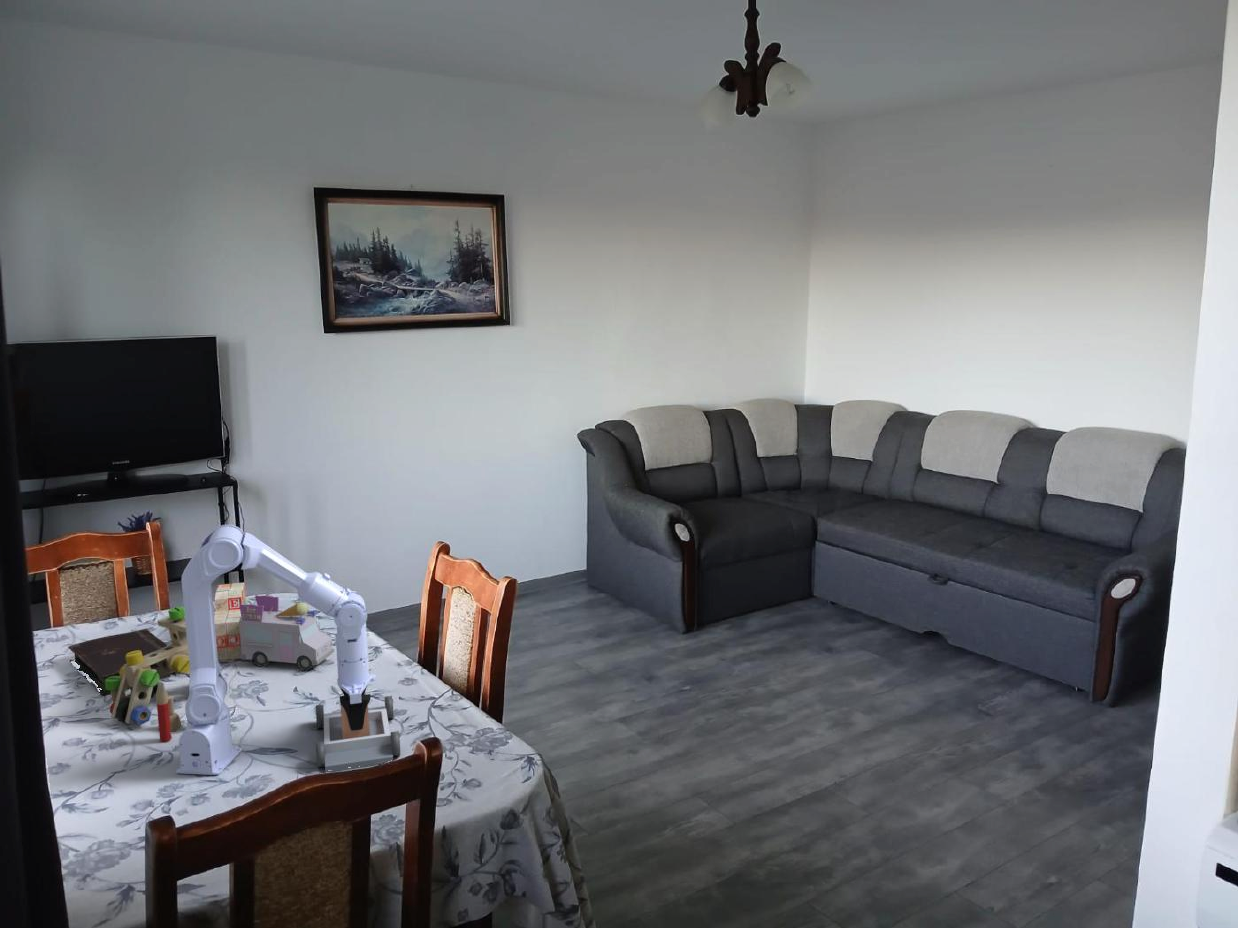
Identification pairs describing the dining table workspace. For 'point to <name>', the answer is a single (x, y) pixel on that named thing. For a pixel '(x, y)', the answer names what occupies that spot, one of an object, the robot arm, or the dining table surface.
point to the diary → (114, 655)
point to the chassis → (357, 740)
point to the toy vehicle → (282, 634)
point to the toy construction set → (151, 679)
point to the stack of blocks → (228, 619)
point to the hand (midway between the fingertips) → (356, 722)
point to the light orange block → (356, 733)
